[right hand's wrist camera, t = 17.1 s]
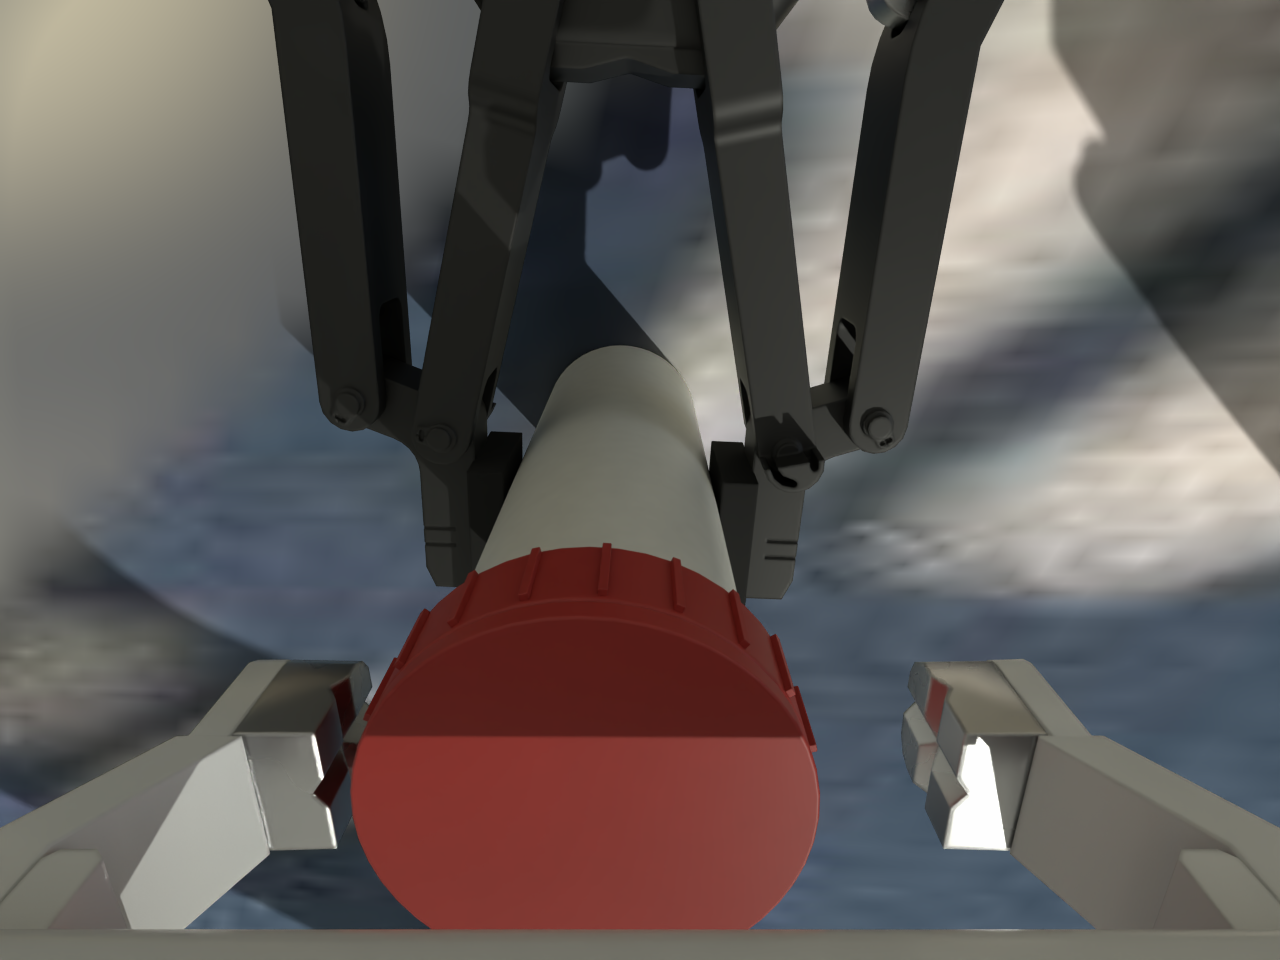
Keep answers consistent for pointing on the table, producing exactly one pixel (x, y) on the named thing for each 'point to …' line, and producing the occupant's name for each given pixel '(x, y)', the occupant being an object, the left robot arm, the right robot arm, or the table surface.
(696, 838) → the lid
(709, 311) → the table surface
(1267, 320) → the table surface
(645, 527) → the jar
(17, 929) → the right robot arm
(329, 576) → the table surface
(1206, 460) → the table surface
